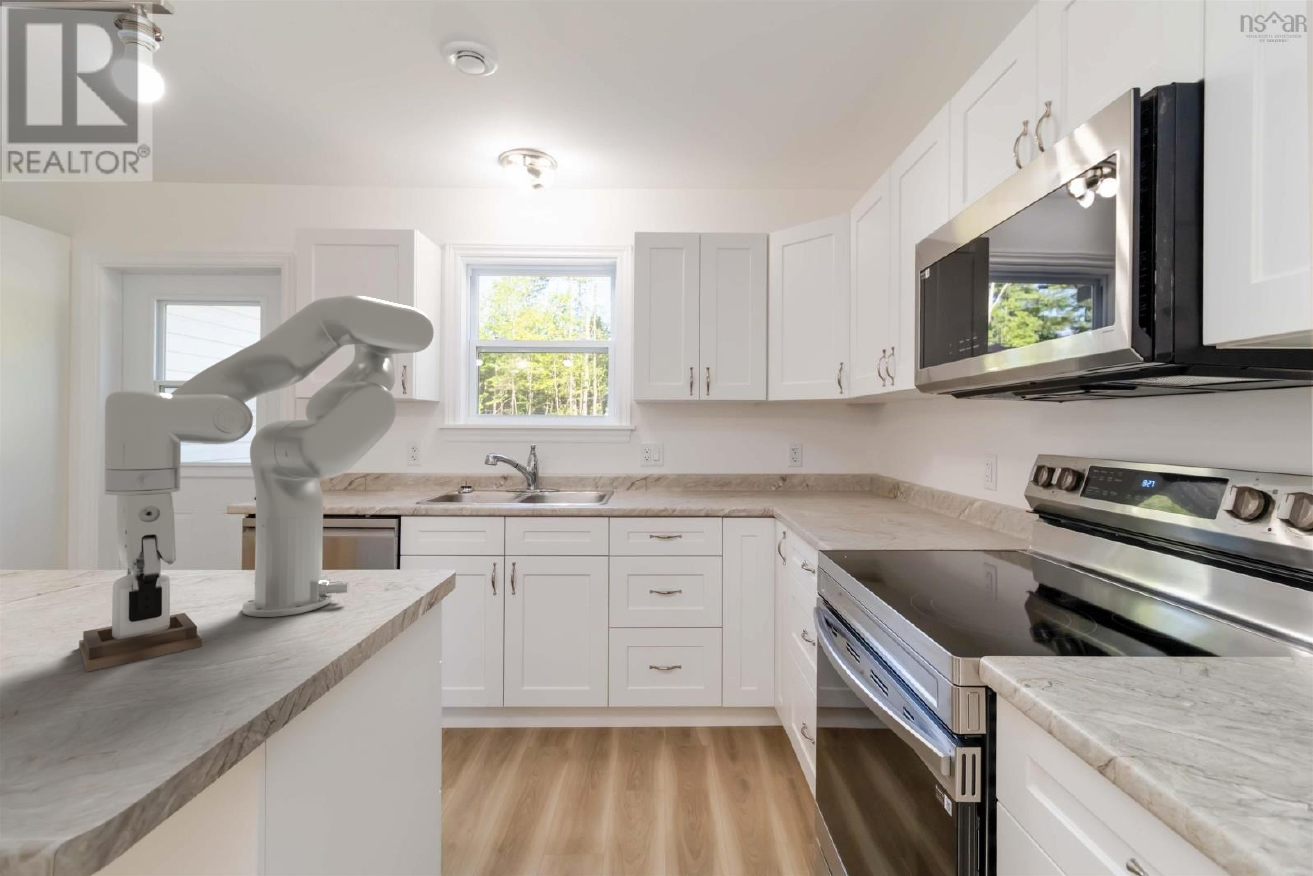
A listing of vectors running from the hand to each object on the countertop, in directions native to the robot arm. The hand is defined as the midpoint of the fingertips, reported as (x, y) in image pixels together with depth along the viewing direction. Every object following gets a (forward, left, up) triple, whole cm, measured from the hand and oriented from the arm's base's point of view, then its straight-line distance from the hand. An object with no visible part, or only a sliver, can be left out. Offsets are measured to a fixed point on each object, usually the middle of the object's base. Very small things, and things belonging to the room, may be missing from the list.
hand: (143, 613), depth 74 cm
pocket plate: (0, 0, -5) cm, 5 cm away
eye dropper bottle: (0, 0, -3) cm, 3 cm away
